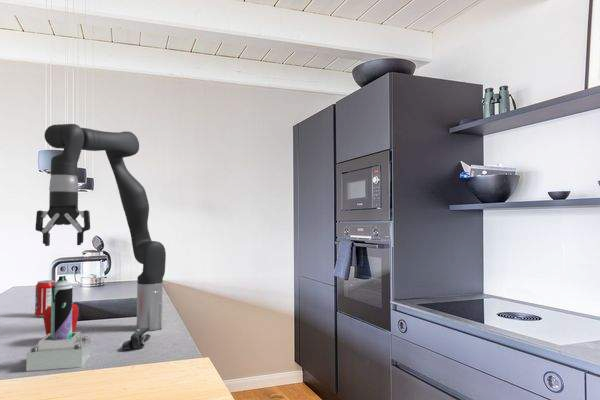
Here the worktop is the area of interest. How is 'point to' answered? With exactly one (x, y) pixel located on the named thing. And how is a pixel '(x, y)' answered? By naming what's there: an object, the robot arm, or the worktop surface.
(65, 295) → the spray can
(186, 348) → the worktop surface
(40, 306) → the soda can
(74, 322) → the apple
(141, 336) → the can opener
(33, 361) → the grey square holder
